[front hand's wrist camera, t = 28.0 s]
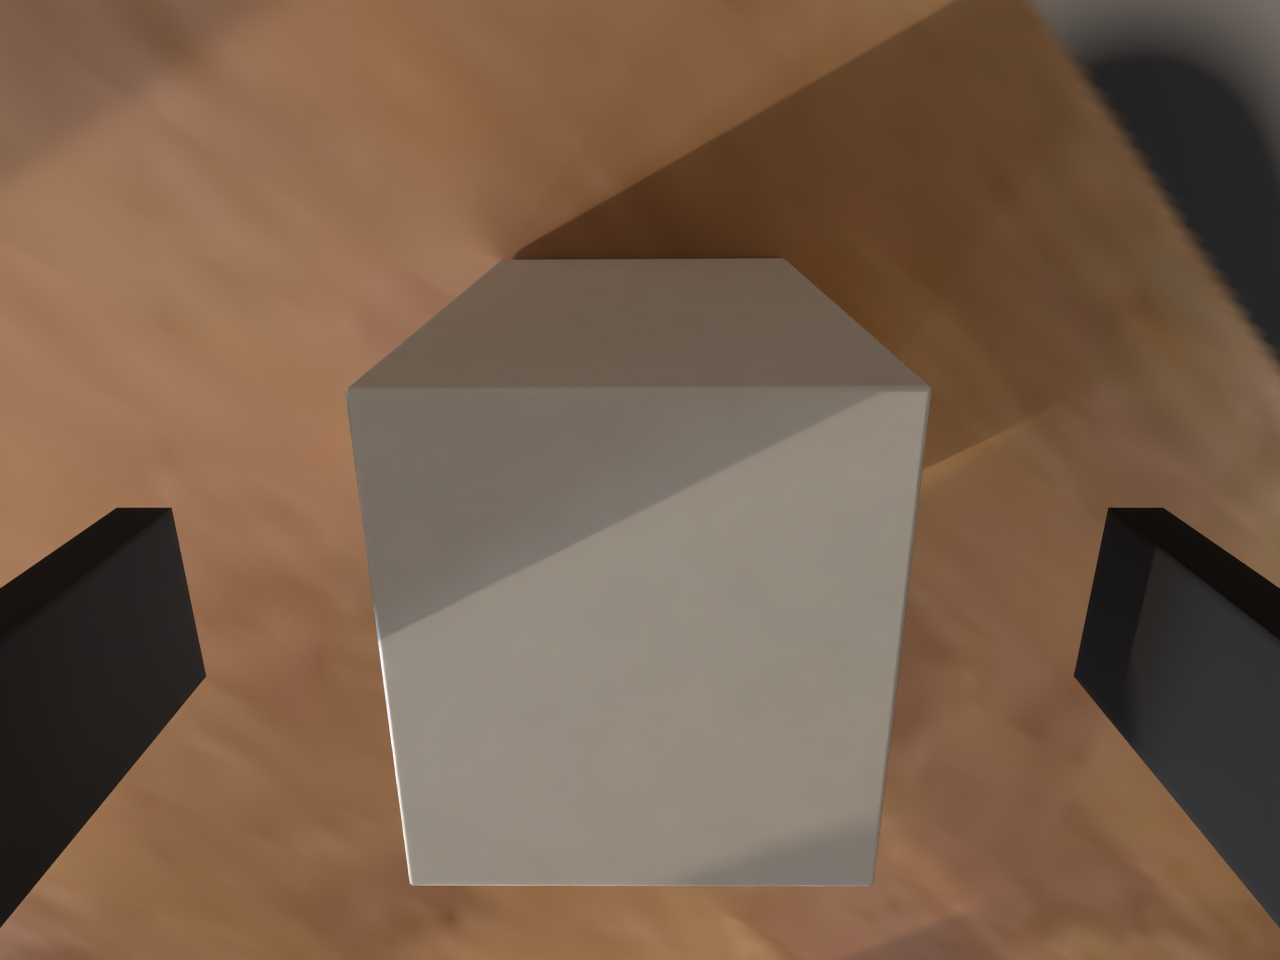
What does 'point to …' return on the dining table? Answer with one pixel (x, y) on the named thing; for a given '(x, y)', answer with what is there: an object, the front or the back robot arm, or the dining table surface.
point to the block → (640, 575)
